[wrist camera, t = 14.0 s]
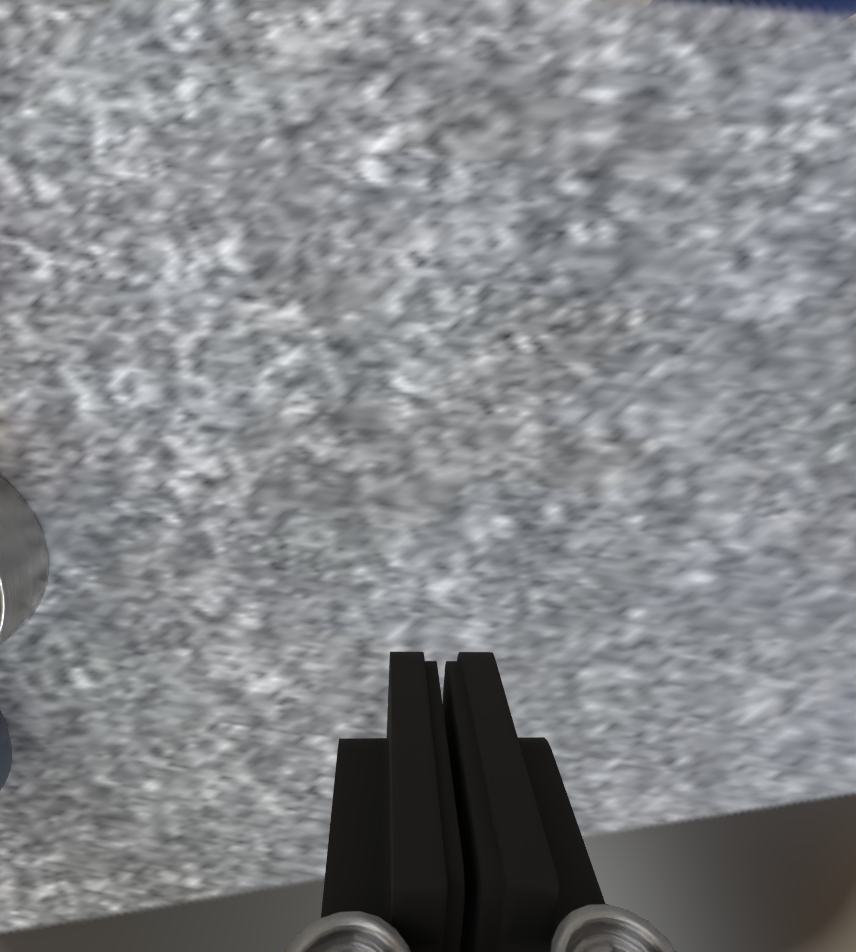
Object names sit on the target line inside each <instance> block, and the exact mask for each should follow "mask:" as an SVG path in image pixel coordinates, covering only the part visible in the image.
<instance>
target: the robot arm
mask: <svg viewBox="0 0 856 952" xmlns="http://www.w3.org/2000/svg"><path fill="white" fill-rule="evenodd" d="M285 952H676V950H675V949H674V947H673V946H672V945H671V943H670V942H669V941H668V939H667V938H666V937H665V936H664V935H663V934H662V933H661V932H660V931H658V930H657V929H656V928H655V927H654V926H653V925H652V924H651V923H649V922H648V921H647V920H645V919H643V918H641V917H639V916H638V915H636V914H634V913H633V912H631V911H629V910H626V909H623V908H619V907H615V906H612V905H608V904H605V902H604V899H603V896H602V893H601V890H600V887H599V884H598V882H597V879H596V876H595V873H594V870H593V867H592V864H591V861H590V859H589V856H588V853H587V850H586V847H585V844H584V841H583V839H582V836H581V833H580V830H579V827H578V824H577V821H576V819H575V816H574V813H573V810H572V807H571V804H570V801H569V799H568V796H567V793H566V790H565V787H564V784H563V781H562V778H561V776H560V773H559V770H558V767H557V764H556V761H555V758H554V756H553V753H552V750H551V747H550V745H549V743H548V741H547V740H546V739H545V738H517V734H516V731H515V727H514V724H513V720H512V717H511V713H510V710H509V706H508V702H507V699H506V695H505V692H504V688H503V685H502V681H501V678H500V674H499V671H498V667H497V664H496V660H495V657H494V655H493V653H492V652H459V654H458V658H457V661H447V662H446V665H445V676H444V690H443V704H442V698H441V690H440V683H439V675H438V668H437V662H436V661H425V660H424V653H423V652H390V665H389V691H388V717H387V738H377V739H339V744H338V753H337V763H336V773H335V783H334V793H333V803H332V813H331V823H330V833H329V843H328V853H327V863H326V873H325V883H324V893H323V903H322V913H321V918H320V919H318V920H317V921H315V922H314V923H313V924H311V925H310V926H308V927H307V928H306V929H304V930H303V931H301V932H300V933H299V935H298V936H297V937H296V938H295V940H294V941H293V942H292V943H291V945H290V946H289V947H288V948H287V949H286V951H285Z"/></svg>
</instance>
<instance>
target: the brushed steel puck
mask: <svg viewBox="0 0 856 952" xmlns="http://www.w3.org/2000/svg"><path fill="white" fill-rule="evenodd" d="M48 571H49V562H48V552H47V546H46V542H45V539H44V535H43V532H42V529H41V527H40V525H39V523H38V521H37V519H36V517H35V515H34V514H33V512H32V511H31V509H30V508H29V506H28V505H27V503H26V502H25V501H24V500H23V498H22V497H21V496H20V495H19V494H18V492H17V491H16V490H15V489H14V488H13V487H12V486H10V485H9V484H8V483H7V482H6V481H5V480H4V479H3V478H1V477H0V646H1V645H2V644H3V643H4V642H5V641H6V640H7V639H8V638H9V637H10V636H11V635H12V634H13V633H14V632H15V631H16V630H18V629H19V628H20V627H21V626H22V625H23V624H24V623H25V622H26V621H27V620H28V619H29V617H30V616H31V615H32V614H33V612H34V611H35V609H36V608H37V607H38V605H39V603H40V601H41V599H42V597H43V594H44V591H45V588H46V584H47V579H48Z"/></svg>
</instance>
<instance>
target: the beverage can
mask: <svg viewBox="0 0 856 952" xmlns="http://www.w3.org/2000/svg"><path fill="white" fill-rule="evenodd" d="M11 762H12V749H11V742H10V738H9V735H8V729H7V725H6V722H5V719H4V717H3V715H2V713H1V711H0V790H1V788H2V787H3V785H4V783H5V782H6V779H7V777H8V774H9V772H10V768H11Z"/></svg>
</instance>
